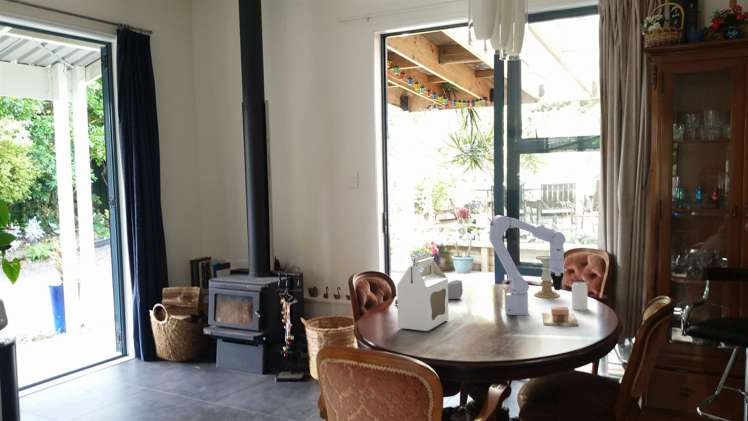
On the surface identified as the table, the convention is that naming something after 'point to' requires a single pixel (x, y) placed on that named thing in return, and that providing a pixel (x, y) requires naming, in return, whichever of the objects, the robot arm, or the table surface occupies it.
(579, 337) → the table surface
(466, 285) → the table surface
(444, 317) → the gable box
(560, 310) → the block
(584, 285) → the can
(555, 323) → the rail board
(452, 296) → the decorative stone
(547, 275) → the candle holder
